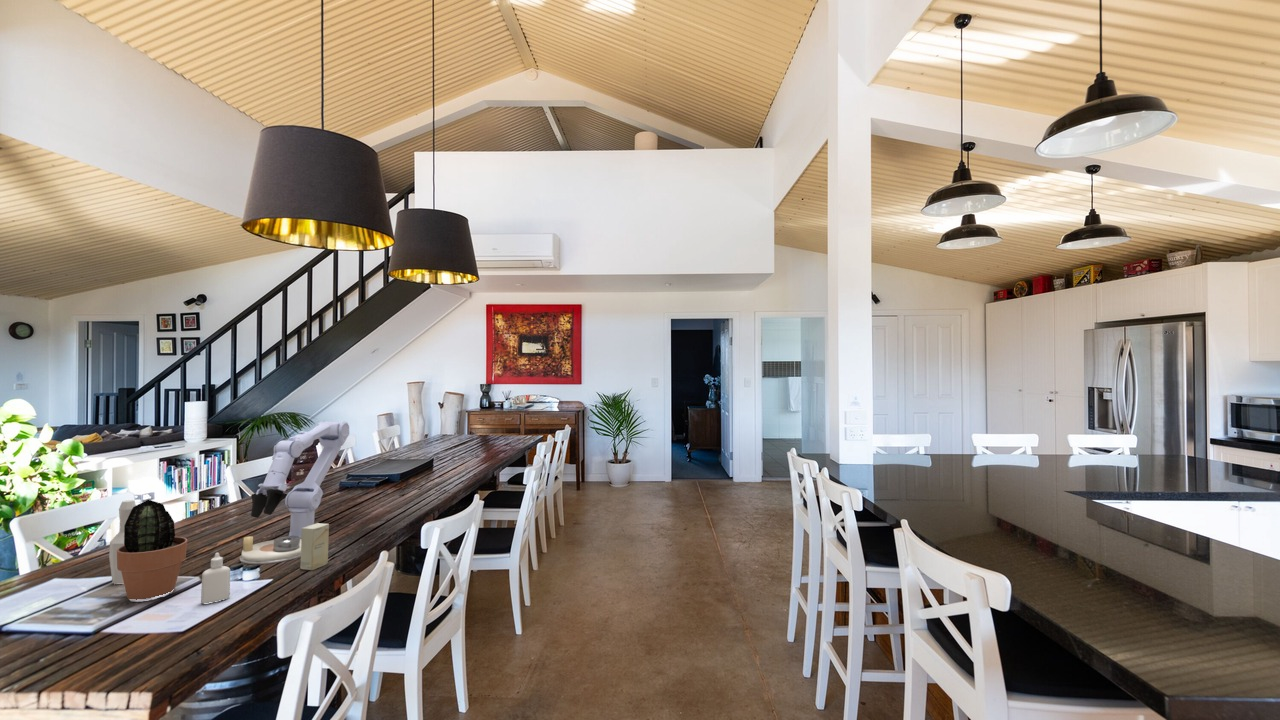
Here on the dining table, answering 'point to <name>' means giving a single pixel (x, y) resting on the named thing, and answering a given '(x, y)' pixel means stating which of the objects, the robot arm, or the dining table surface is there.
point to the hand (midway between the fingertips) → (260, 515)
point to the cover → (286, 544)
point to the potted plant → (150, 552)
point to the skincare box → (314, 546)
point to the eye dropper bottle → (215, 581)
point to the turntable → (264, 551)
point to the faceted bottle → (119, 540)
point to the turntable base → (268, 561)
